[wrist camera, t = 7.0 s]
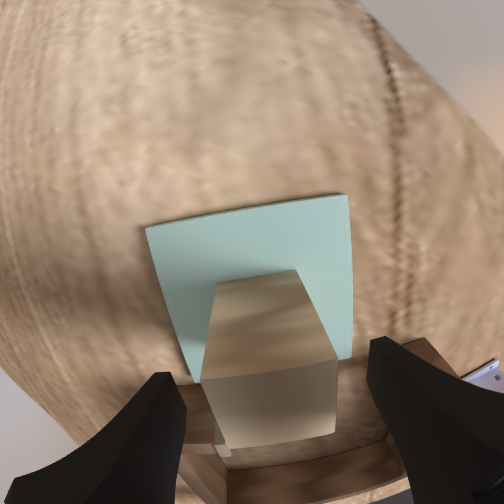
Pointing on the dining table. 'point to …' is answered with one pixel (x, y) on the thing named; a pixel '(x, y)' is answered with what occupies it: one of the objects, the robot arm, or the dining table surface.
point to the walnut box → (291, 475)
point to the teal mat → (256, 263)
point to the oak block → (269, 363)
